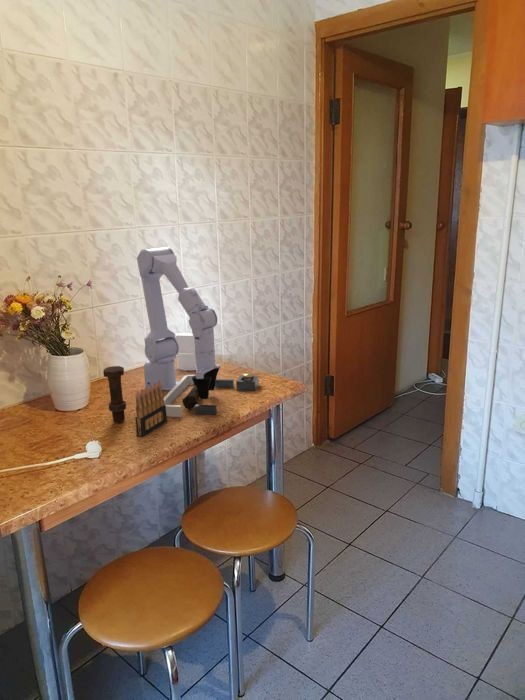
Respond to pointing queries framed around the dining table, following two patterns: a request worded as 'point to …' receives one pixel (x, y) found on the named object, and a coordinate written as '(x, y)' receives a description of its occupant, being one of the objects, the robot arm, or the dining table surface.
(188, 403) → the hand tool
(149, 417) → the ammunition clip
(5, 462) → the dining table surface
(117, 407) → the bolt
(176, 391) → the white u-shaped bracket
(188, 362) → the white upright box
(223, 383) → the tool holder
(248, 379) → the release plunger
